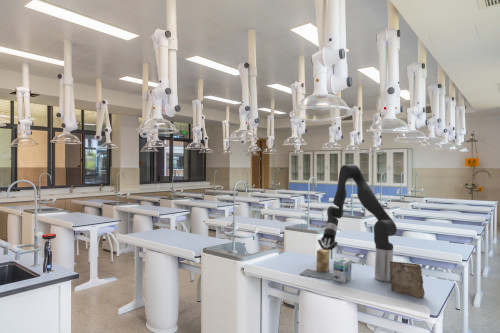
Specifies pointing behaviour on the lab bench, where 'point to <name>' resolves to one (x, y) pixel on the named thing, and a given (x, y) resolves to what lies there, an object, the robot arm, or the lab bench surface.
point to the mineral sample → (406, 279)
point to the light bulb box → (342, 270)
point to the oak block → (322, 260)
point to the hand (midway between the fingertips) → (324, 254)
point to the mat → (317, 274)
